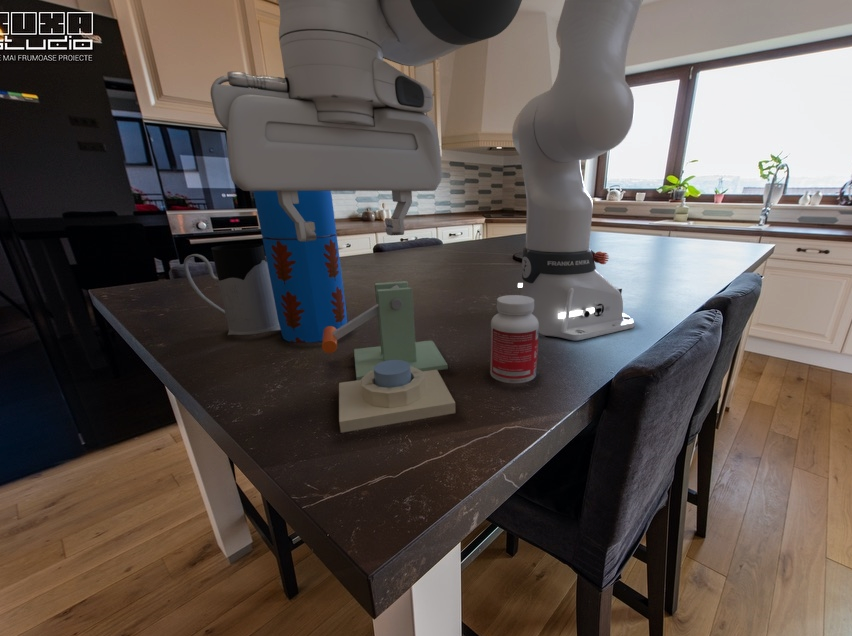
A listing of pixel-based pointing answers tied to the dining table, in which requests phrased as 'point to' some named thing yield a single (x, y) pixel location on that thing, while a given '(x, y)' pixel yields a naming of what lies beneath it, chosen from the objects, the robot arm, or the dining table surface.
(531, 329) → the pill bottle
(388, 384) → the power button
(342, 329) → the switch lever
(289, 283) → the thermos
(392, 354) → the green lever stand
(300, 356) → the dining table surface
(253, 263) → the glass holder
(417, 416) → the control block
